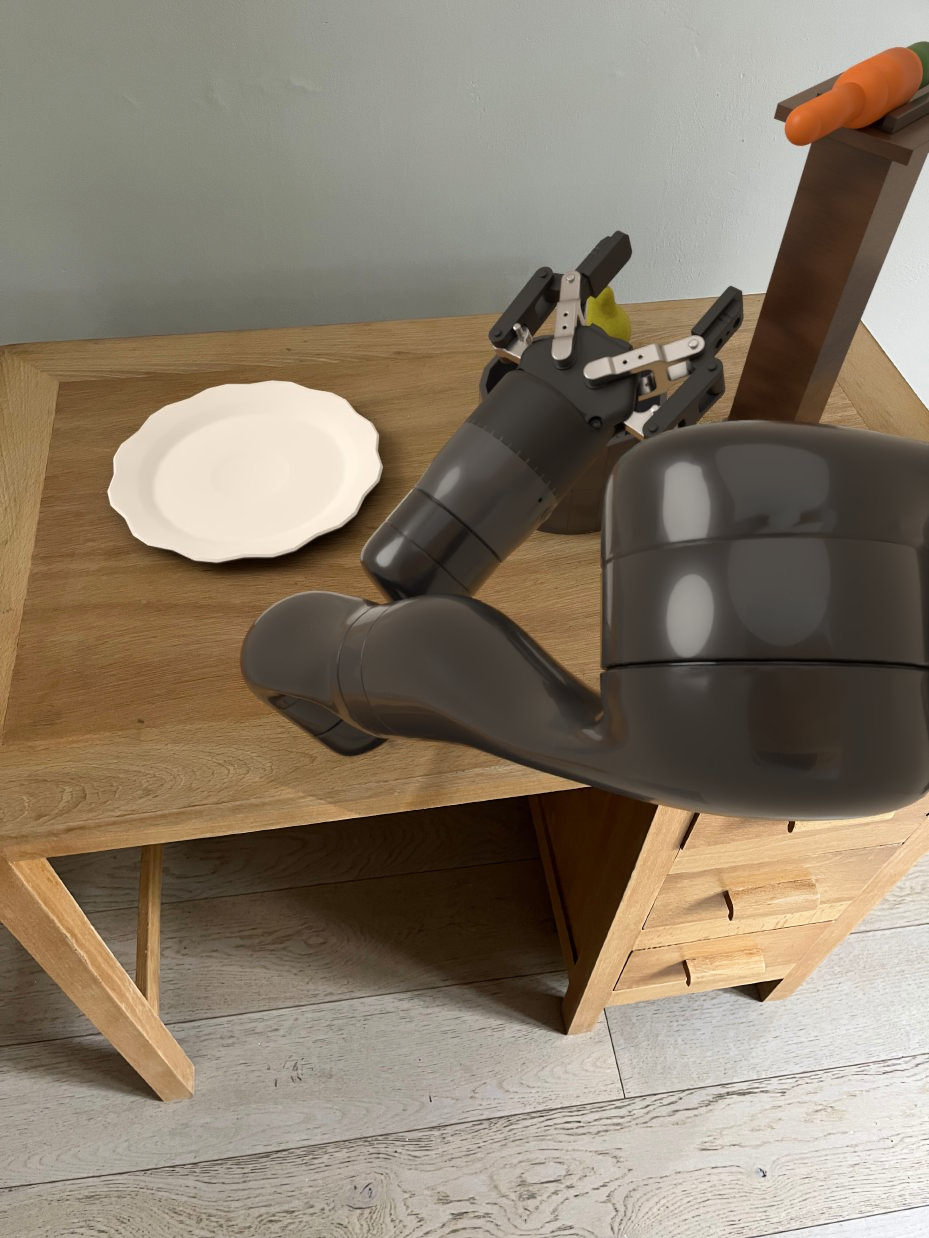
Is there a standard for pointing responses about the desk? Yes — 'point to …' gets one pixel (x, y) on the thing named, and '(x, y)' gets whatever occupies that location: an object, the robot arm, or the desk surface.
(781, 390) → the stand
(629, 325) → the fruit
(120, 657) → the desk surface
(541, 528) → the pot
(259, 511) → the plate
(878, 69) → the carrot
